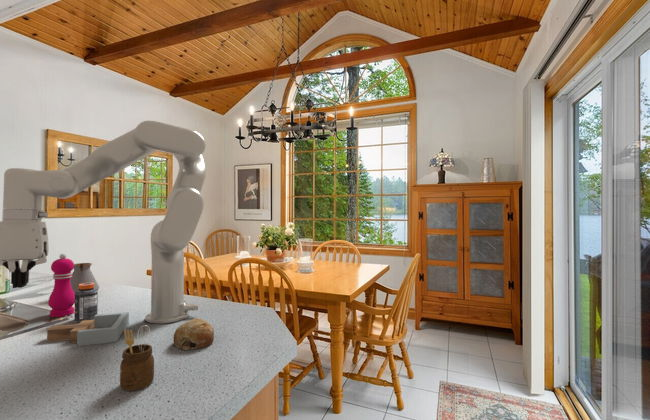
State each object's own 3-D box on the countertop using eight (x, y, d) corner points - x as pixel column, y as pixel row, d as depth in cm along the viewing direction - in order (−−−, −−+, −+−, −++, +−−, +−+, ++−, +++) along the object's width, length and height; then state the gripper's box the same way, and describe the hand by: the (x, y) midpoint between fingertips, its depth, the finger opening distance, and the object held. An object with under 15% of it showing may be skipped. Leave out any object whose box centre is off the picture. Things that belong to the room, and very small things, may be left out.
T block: (56, 333, 92) (57, 322, 92) (94, 329, 95) (94, 319, 95) (41, 345, 84) (41, 334, 84) (83, 341, 87) (83, 330, 87)
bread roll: (171, 363, 83) (169, 340, 79) (177, 333, 92) (175, 310, 88) (213, 359, 85) (212, 336, 82) (215, 329, 94) (214, 308, 91)
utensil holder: (159, 376, 69) (160, 319, 69) (142, 393, 63) (142, 330, 63) (132, 376, 69) (132, 318, 69) (111, 392, 63) (112, 329, 63)
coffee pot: (64, 295, 133) (64, 258, 133) (98, 291, 140) (99, 256, 140) (60, 308, 116) (60, 265, 116) (100, 303, 122) (100, 262, 122)
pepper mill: (60, 318, 105) (61, 255, 105) (41, 317, 106) (42, 254, 106) (81, 311, 112) (82, 252, 112) (63, 310, 113) (64, 252, 113)
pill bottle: (76, 317, 106) (76, 282, 106) (98, 315, 108) (99, 280, 108) (72, 323, 100) (72, 286, 100) (96, 320, 103) (96, 284, 103)
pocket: (128, 323, 101) (128, 312, 101) (115, 341, 87) (115, 328, 87) (95, 326, 98) (96, 314, 98) (77, 346, 84) (77, 332, 84)
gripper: (63, 216, 92) (60, 282, 92) (-6, 215, 87) (-9, 285, 87) (51, 217, 85) (48, 288, 85) (-25, 215, 80) (-28, 291, 80)
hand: (19, 286), depth 86 cm, fingers closed
